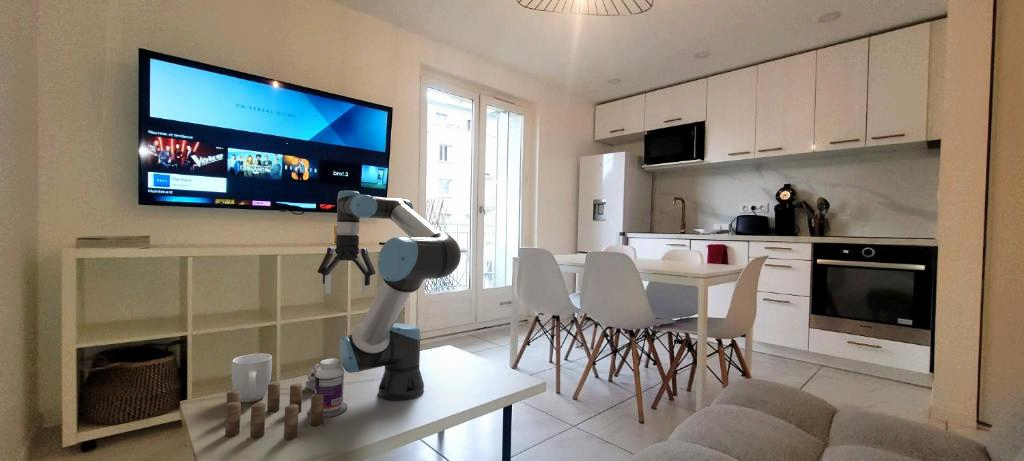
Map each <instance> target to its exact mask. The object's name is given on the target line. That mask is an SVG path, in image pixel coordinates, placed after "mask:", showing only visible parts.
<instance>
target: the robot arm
mask: <svg viewBox="0 0 1024 461" xmlns="http://www.w3.org/2000/svg"><path fill="white" fill-rule="evenodd" d="M336 203H337V206H336V208H337V209H336V233H337V235H336V238H335V240H336V241H335V244H336V247H332V246H331V247H326V248H327V249H326V254H325V256H324V258H323V260H322V262H321V264H320V265H319V268H318V269H317V274H320V275H322V284H323V285H324V295H328V294H331V291H332V290H331V288H332V287H331V286H332V274H330V273H331V272H332V271H333V270H334V269H335V267H336V266H337V265H338V264H339V263H340V262H341V261H348V262H349V261H351V262H353V263H354V264H355V265H356V267H358V269H359V270H360V271H361V273H362V274H363V276H361V277H362V280H361V296H365V295H368V286H370V284H371V276H374V275H376V270H375V267H374V266H373V263H372V261H371V259H370V256H369V253H368V249H367V248H365V247H363V248H360V247H359V244H360V235H358V234H360V219H363V218H364V219H365V218H366V219H367V218H368V219H383V220H384V219H385V220H391V221H392V222H393V223H394V224H395V225H396V226H397V227H398V228H399V229H401V231H403V232H404V233H405V234H406V235H407V236H406V235H404V236H398V237H397V236H396V237H392V238H389V239H388V240H386V241H385V242H384V244H383V245H382V246H381V249H380V251H379V254H378V258H379V259H378V261H377V265H378V266H377V268H378V272H379V274H380V277H381V279H382V281H381V284H380V286H379V288H378V290H377V292H376V294H375V296H374V299H373V300H372V303H371V305H370V306H369V309H368V311H367V313H366V316H365V317H364V320H363V321H362V322H361V323H360V324H358V325H356V326H355V327H354V329H353V330H352V333H351V334H346V335H344V336H341V338H340V340H339V345H338V346H339V348H338V349H339V357H340V363H341V364H342V368H343V370H344V372H346V373H349V374H352V373H360V372H364V371H368V370H374V369H378V368H382V367H384V371H383V374H382V377H381V379H380V383H379V385H378V396H379V397H380V398H382V399H384V400H389V401H406V400H411V399H414V398H417V397H420V396H421V395H422V394H423V393H424V391H425V384H424V381H423V380H424V379H423V376H422V372H421V370H420V361H421V360H420V357H421V356H420V354H421V340H422V339H421V329H420V327H418V326H416V325H413V324H408V323H398V322H396V321H397V319H398V317H399V315H400V313H401V311H403V308H404V306H405V304H406V302H407V300H408V298H409V297H410V295H411V293H414V292H417V291H418V290H419V289H420V288H421V286H422V284H423V282H424V281H425V280H431V279H443V278H445V277H448V276H450V275H451V274H453V273H454V272H455V270H456V269H457V268H458V267H459V265H460V262H461V258H462V257H461V256H462V254H461V252H462V251H461V248H460V246H459V244H458V243H457V241H456V240H455V239H454V237H452V235H449V234H448V233H447V232H445V231H444V232H443V231H440V230H438V229H437V228H435V227H434V226H433V225H432V224H431V223H430V222H428V221H427V220H426V219H424V218H423V217H422V216H421V215H419V214H418V213H417V212H416V211H415V210H414V206H413V204H412V201H411V200H409V199H404V198H396V197H395V198H394V197H381V196H373V195H369V194H361V193H360V192H359V191H356V190H340V191H338V193H337V199H336ZM334 254H336V256H335V257H334V258H333V255H334ZM359 254H360V256H361V258H362V260H363V262H362V260H361V258H360V257H359V256H358V255H359ZM332 258H333V260H332ZM331 260H332V261H331ZM330 261H331V262H330Z"/></svg>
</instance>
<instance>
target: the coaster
mask: <svg viewBox="0 0 1024 461" xmlns="http://www.w3.org/2000/svg"><path fill="white" fill-rule="evenodd" d="M348 406H349V405H348V403H347V402H344V401H343V404H342V406H341V407H340V408H339V409H337V410H335V411H331V412H323V419H326V418H332V417H333V418H334V417H337V416H341V415H342V414H344V413H345V412H347V410H348ZM307 414H308V416H309V417H311V407H309V409H308V410H307Z"/></svg>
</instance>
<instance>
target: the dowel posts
mask: <svg viewBox="0 0 1024 461" xmlns="http://www.w3.org/2000/svg"><path fill="white" fill-rule="evenodd" d="M302 397H303V384H302V383H301V382H300V383H299V382H298V383H292V384H290V385H289V405H286V406H285V407H284V419H283V420H284V421H283V422H284V423H283V424H284V426H283V428H284V429H283V440H285V441H292V440H294V439H297V438H298V434H299V432H298V431H299V413H301V412H302V404H303V402H302V400H303V399H302ZM280 399H281V382H279V381H274V382H270V384H268V389H267V404H266V403H265V402H259V403H255V404H252V405H251V406H250V428H249V429H250V431H249V437H250V439H251V440H256V439H260V438H263V437H264V436H265V431H266V430H265V427H266V426H265V425H266V424H265V423H266V422H265V420H266V412H267V413H269V414H271V413H272V414H273V413H277V412H279V411H280V403H281V402H280V401H281V400H280ZM323 401H324V394H321V393H318V394H315V393H314V394H312V395H311V397H310V408H311V416H310V419H309V420H310V422H309V423H310V424H309V425H310V427H320V426H322V425H323V422H324V418H323ZM241 403H242V402H240V390H233V389H232V390H229V391H227V392H226V406H225V428H224V429H225V430H224V431H225V432H224V435H225V438H231V437H236V436H238V435H240V432H241V409H242V407H241V405H242V404H241ZM266 405H267V406H266Z"/></svg>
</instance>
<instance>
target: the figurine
mask: <svg viewBox="0 0 1024 461" xmlns="http://www.w3.org/2000/svg"><path fill="white" fill-rule="evenodd" d="M320 368H321V367H320V363H316V364H315V365H313V368H312V369H311V370H309V372H308V373H307V380H306V381H305V385H306V386H305V387H306V388H308V389H310V390H312V391H314V392H315V374H316V371H317V370H318V369H320Z"/></svg>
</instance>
